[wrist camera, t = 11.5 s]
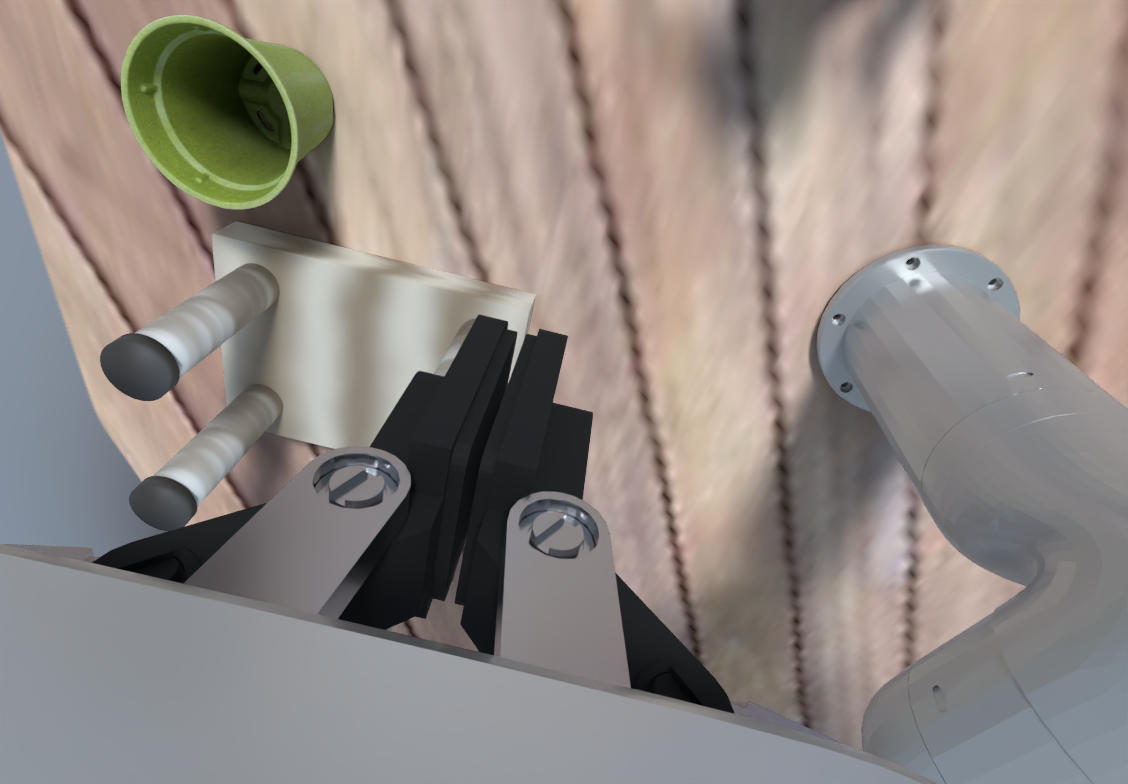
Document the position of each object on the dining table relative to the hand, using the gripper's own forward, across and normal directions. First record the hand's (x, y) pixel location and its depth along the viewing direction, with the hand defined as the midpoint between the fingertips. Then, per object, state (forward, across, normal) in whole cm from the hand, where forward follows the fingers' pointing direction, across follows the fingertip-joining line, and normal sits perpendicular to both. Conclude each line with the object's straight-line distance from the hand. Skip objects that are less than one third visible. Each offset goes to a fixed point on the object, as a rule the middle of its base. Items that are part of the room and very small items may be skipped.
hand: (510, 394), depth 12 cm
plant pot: (+32, +20, +3) cm, 38 cm away
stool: (+32, +13, +20) cm, 40 cm away
